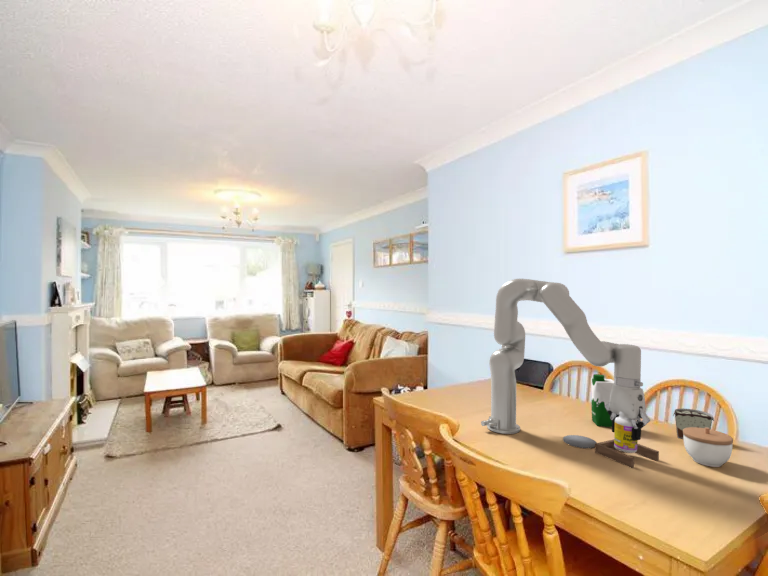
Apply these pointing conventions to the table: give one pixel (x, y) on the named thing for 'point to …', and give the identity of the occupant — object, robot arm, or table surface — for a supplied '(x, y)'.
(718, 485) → the table surface
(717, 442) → the lidded bowl
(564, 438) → the mat
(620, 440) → the supplement bottle
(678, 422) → the food container
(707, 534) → the table surface
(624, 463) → the holder
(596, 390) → the milk carton
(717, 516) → the table surface
